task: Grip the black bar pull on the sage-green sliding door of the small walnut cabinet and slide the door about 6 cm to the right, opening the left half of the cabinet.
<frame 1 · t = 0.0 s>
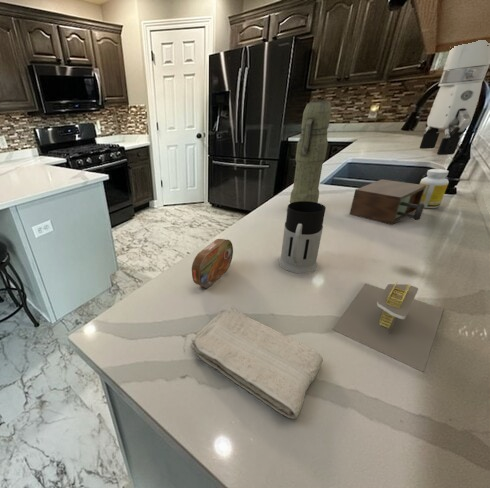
hand: (435, 151, 71), 20 cm above the counter, tool pointing down, fingers open, 9 cm apart
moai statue: (302, 209, 95), on the counter
glass holder: (295, 269, 63), on the counter
cabinet: (382, 212, 86), on the counter
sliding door: (412, 209, 76), point 4 cm above the counter, slide at 0.0 cm
tin: (213, 276, 64), on the counter
washcloth: (251, 358, 43), on the counter
platform: (388, 319, 47), on the counter
pill bottle: (425, 206, 87), on the counter
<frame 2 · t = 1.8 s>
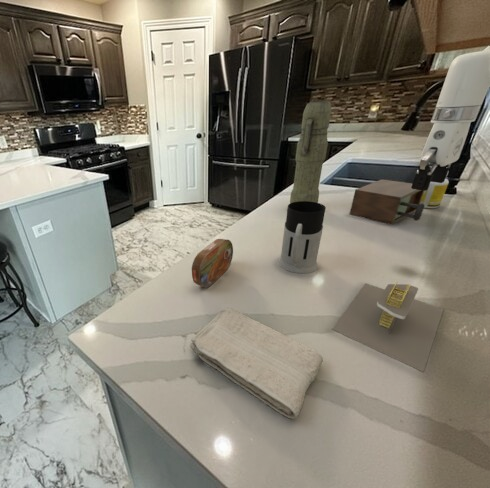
hand: (427, 185, 70), 12 cm above the counter, tool pointing down, fingers open, 9 cm apart
nothing on the counter moved.
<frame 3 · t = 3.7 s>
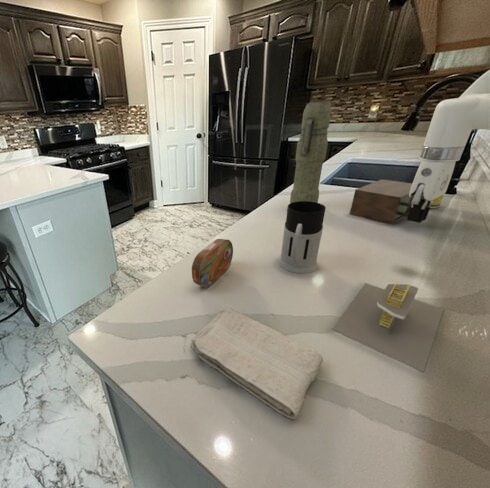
hand: (415, 219, 74), 2 cm above the counter, tool pointing down, fingers closed
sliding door: (412, 209, 76), point 4 cm above the counter, slide at 0.0 cm, touching gripper
everything else where it was.
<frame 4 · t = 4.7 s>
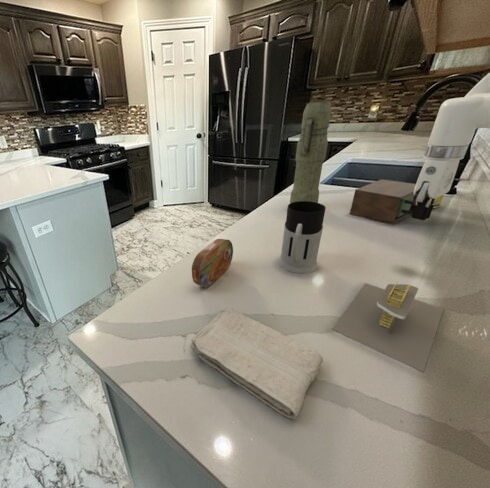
hand: (419, 217, 75), 2 cm above the counter, tool pointing down, fingers closed
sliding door: (416, 207, 77), point 4 cm above the counter, slide at 2.4 cm, touching gripper
everything else where it was.
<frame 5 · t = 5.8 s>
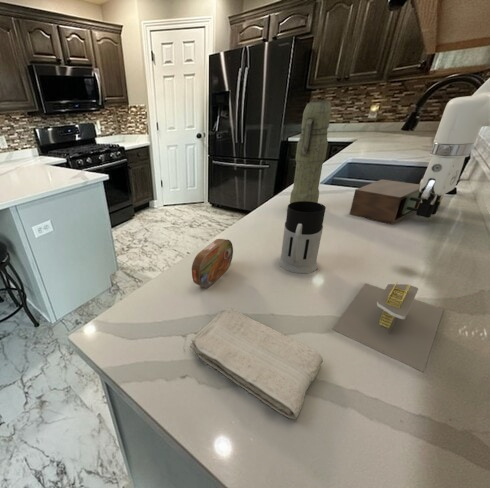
hand: (425, 214, 77), 2 cm above the counter, tool pointing down, fingers closed
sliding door: (421, 204, 78), point 4 cm above the counter, slide at 5.9 cm
everything else where it was.
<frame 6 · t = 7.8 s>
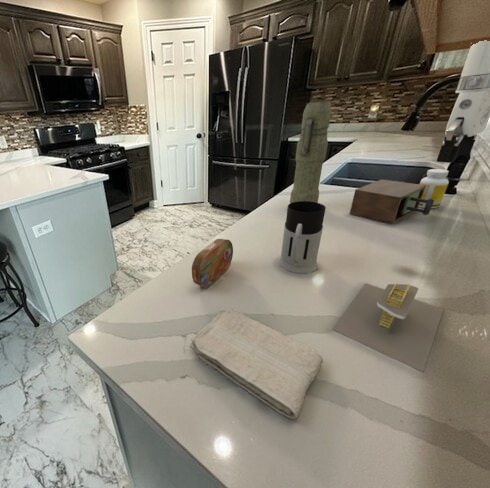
hand: (453, 158, 69), 18 cm above the counter, tool pointing down, fingers open, 9 cm apart
nothing on the counter moved.
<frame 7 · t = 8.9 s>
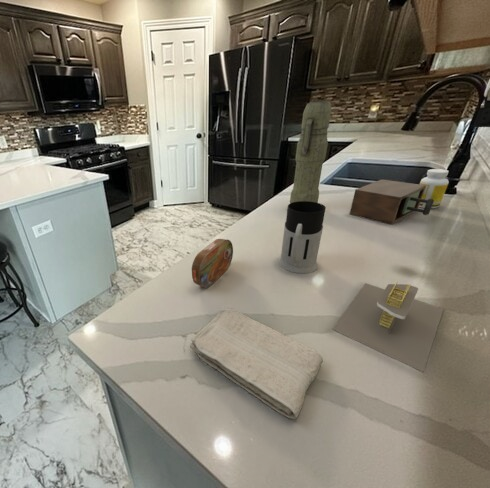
nothing on the counter moved.
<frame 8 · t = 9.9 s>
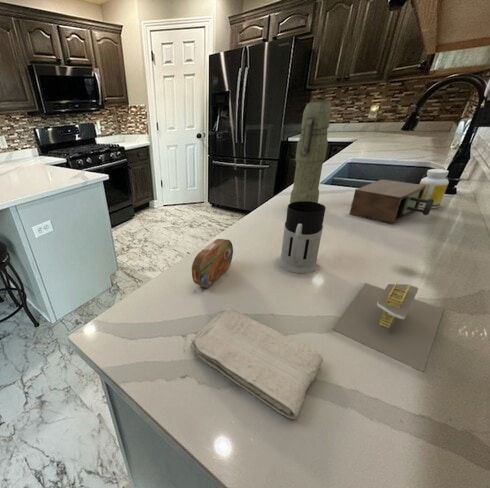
nothing on the counter moved.
at the end: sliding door slide at 5.9 cm; the gripper is holding nothing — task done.
